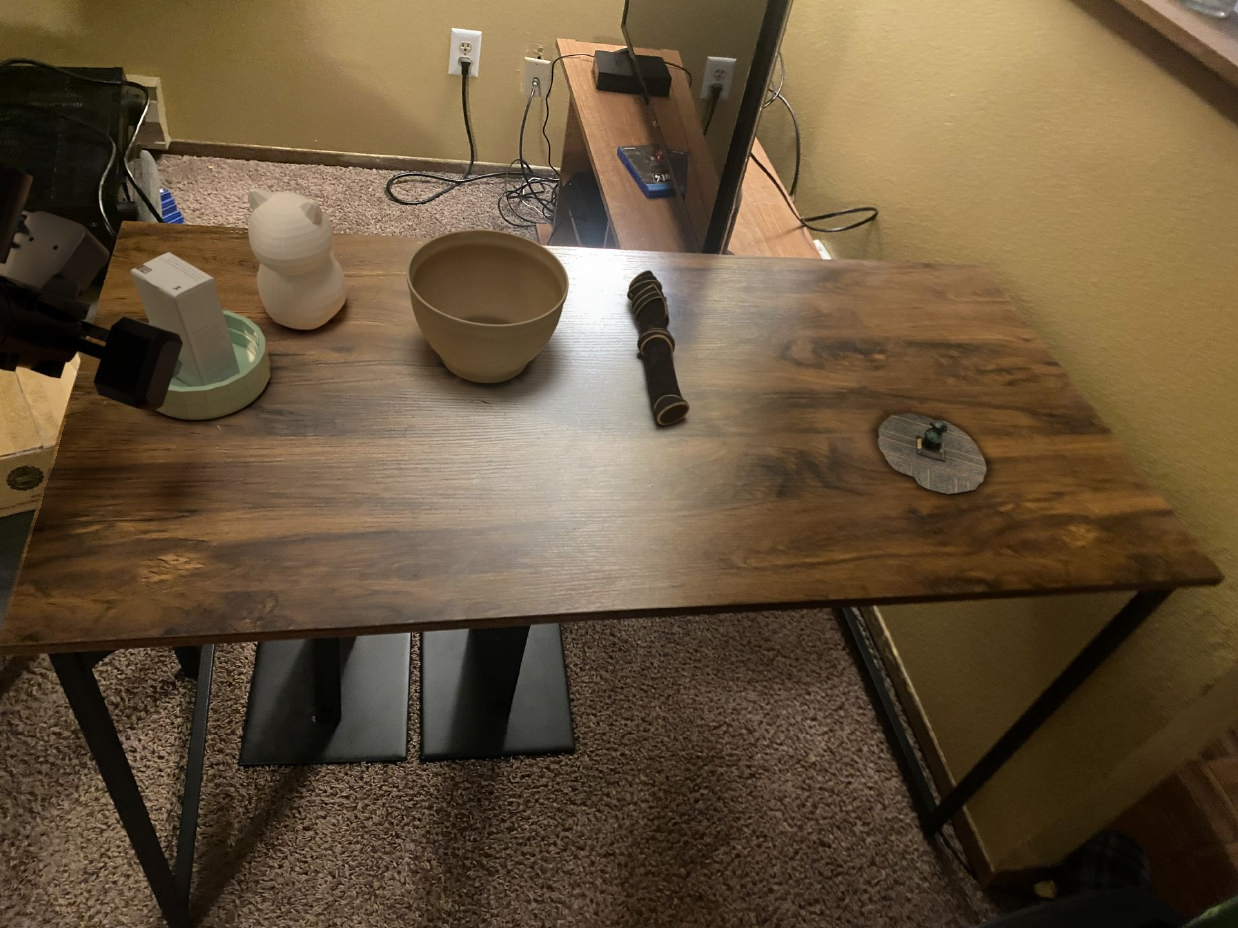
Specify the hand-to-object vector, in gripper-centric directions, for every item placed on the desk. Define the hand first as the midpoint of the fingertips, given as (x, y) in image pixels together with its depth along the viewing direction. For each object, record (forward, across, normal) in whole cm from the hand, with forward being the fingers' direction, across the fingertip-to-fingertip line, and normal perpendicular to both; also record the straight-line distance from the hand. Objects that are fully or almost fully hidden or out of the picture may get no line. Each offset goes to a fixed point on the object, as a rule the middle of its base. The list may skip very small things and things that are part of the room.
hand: (131, 351), depth 72 cm
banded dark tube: (+29, -40, -17) cm, 52 cm away
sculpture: (+28, -72, -16) cm, 79 cm away
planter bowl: (+23, -23, -10) cm, 34 cm away
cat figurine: (+22, -2, -9) cm, 24 cm away
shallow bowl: (+11, 0, +1) cm, 11 cm away
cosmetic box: (+11, 0, +1) cm, 11 cm away
